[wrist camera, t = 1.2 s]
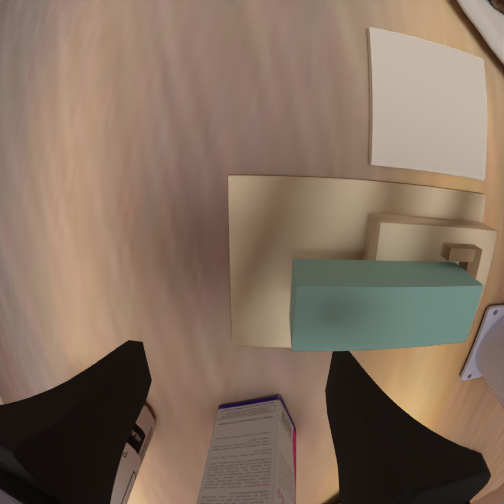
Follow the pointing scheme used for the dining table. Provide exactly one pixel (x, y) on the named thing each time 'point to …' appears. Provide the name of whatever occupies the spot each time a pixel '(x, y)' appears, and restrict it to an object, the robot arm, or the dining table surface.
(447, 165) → the grey tile
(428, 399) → the dining table surface
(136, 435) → the supplement can
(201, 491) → the supplement box
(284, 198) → the board
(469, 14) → the plated food
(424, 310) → the teal bar
